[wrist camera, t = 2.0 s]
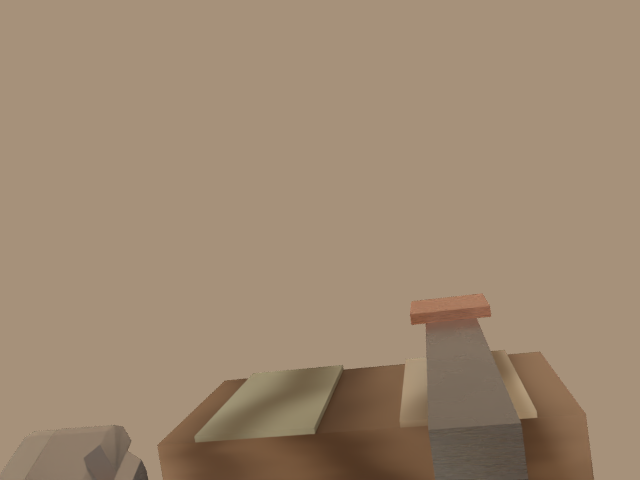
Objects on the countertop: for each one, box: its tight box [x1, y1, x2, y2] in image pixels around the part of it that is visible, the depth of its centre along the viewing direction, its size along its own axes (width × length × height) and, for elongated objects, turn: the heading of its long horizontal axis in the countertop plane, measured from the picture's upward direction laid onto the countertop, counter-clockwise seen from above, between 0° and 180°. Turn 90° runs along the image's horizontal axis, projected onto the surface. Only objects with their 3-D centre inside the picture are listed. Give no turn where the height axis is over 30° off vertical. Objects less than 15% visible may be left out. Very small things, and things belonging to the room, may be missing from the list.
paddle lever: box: [410, 294, 528, 480], centre depth 28 cm, size 4×20×3 cm, turn 170°
